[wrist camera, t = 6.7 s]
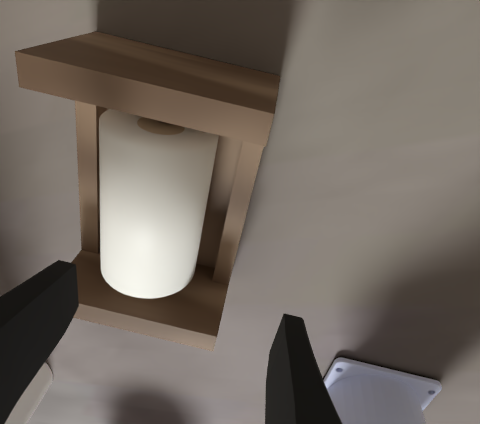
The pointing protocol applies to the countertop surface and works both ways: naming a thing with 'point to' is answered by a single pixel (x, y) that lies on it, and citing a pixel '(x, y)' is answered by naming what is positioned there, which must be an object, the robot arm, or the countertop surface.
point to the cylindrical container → (31, 396)
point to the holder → (174, 112)
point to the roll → (151, 202)
